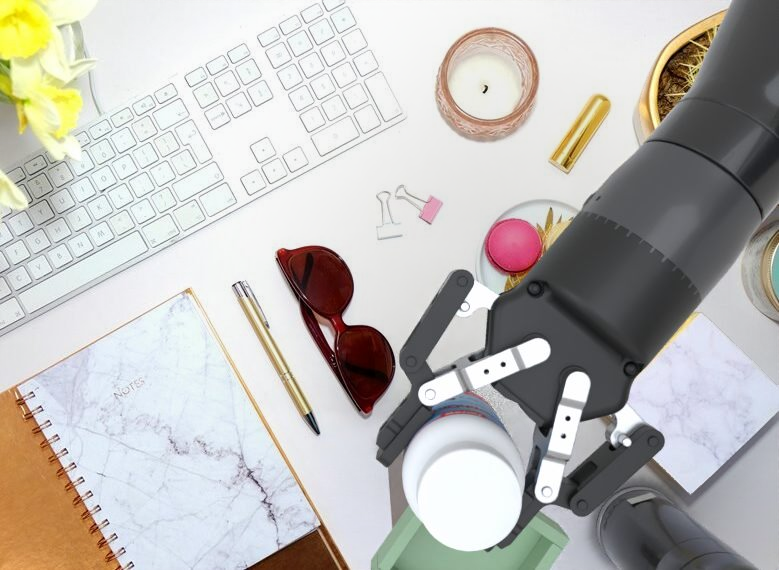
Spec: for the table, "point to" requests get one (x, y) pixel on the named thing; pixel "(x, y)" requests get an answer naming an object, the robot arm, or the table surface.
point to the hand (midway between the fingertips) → (431, 500)
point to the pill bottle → (464, 474)
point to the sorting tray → (450, 566)
